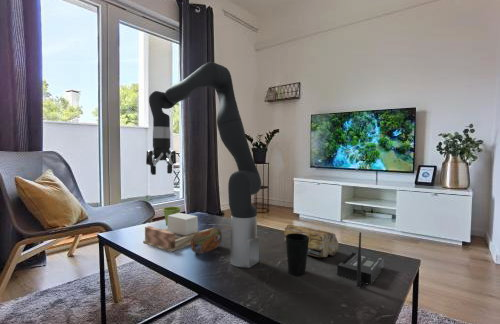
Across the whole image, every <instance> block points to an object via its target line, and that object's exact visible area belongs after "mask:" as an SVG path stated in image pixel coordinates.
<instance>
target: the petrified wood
mask: <svg viewBox="0 0 500 324" xmlns="http://www.w3.org/2000/svg"><path fill="white" fill-rule="evenodd" d="M292 233H298V234H304V235H307V236H308V237H309V243H308V252H307V256H312V257H316V258H327V257H328V255H329V256H335V254H336V253H337V252H338V249H339V247H340V245H339V241H338V239H337V236H336V234H335V233H334V232H331V231H325V230H320V229H315V228H311V227H306V226H301V225H294V224H287V225H286V227H284V231H283V236H284V238H283V241H284V244H285V245H286V235H288V234H292Z"/></svg>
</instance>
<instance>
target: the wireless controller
mask: <svg viewBox="0 0 500 324" xmlns="http://www.w3.org/2000/svg"><path fill="white" fill-rule="evenodd" d="M384 264H385V258H383V257H380V256H374V255H371V254H367V253H362V232H361V231H359V233H358V249H357V251H355V250H354V251H352V253H351V254H350V255H348V256H347V257H346V258H345V259H344V260H343V261H341V262H339V263H338V264H337V268H336V269H337V271H336V272H337V276H338V275H339V277H341V276H343V277H342V278H344V277H346V278H345V279H348V278H350V279H349V280H351V279H353V280H352V281H354V280H356V281H355V282H356V288H357V287H360V288H361V287H362V285H363V284H364V283H368V284H367V285H369V284H371V283H372V282H373V280H374V279H375V278H376V276H377V275H378V274H379V275H380V273H381V272H382V271H381V269H382V268H383V267H384V266H385V265H384ZM383 269H384V268H383ZM383 269H382V270H383ZM380 271H381V272H380ZM379 272H380V273H379ZM379 275H378V276H379ZM378 276H377V277H378ZM376 279H377V278H376ZM376 279H375V280H376ZM375 280H374V281H375ZM363 282H364V283H363ZM373 283H374V282H373ZM373 283H372V284H373ZM372 284H371V285H372Z"/></svg>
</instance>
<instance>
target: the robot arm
mask: <svg viewBox="0 0 500 324" xmlns="http://www.w3.org/2000/svg"><path fill="white" fill-rule="evenodd" d="M230 72H231V71H230V70H229V69H228V68H227V67H226V66H224V65H222V64H219V63H217V62H213V61H208V62H206V63H204V64H203V65H201V66H200V67H198V68H197V69H196V70H195V71H194V72H192V73H191V74H190V75H188V76H187V77H185V78H184V79H182V80H180V81H179V82H177V83H175V84H172V85H170V86H169V87H168V88H166V89H165V92H163V91H159V90H153V91H152V92H151V93H150V95H149V96H148V104H149V107H150V110H151V111H150V112H151V115H152V121H153V122H152V123H153V125H152V148H153V149H152V150H146V155H145V158H146V159H145V163H146V165H148V166H150V167H149V168H150V174H151V175H153V176H154V175H156V174H157V163H159V162H160V161H164V162H166V164H167V167H166V169H167V170H166V172H167V174H172V173H173V165H175V164H177V153H176V150H170V148H171V125H170V124H171V122H170V121H171V119H170V115H168V114H167V113H166V112H164V111H163V109H164V110H169V109H172V108H173V107H175V106H176V105H177V104H178V103H179V102H182V101H184V100H186V99H188V98H189V97H190V96H191V95H192V94H193V93H194V91H195V90H198V89H200V88H205V87H207V88H209V89H213V90H215V92H216V95H217V99H218V102H219V103H218V104H219V108H218V111H217V112H218V113H217V117H216V126H217V130H218V134H219V136H220V139H221V142H222V144H223V145H224V146H225V148H226V149H227V150H228V152H229V153H230V155H231V156H232V157H233V159H234V161H235V163H236V166H237V170H238V171H234V172H233V173H231V174H230V176H229V179H228V182H227V183H228V184H227V187H228V188H227V192H228V207H229V209H230V264H231V265H232V266H234V267H238V268H247V269H249V268H252V267H253V266H255V265H257V264H258V263H259V258H260V257H259V255H260V253H259V252H260V251H259V250H260V247H259V246H260V244H259V243H260V240H259V239H260V237H259V236H258V235H257V231H258V230H257V224H258V222H257V221H258V219H257V218H258V210H257V207H256V206H254V205H252V201H251V196H254V195H256V194H257V193H259V192H260V191H261V187H262V179H261V175H260V172H259V170H258V168H257V166H256V163H255V161H254V158H253V155H252V152H251V149H250V145H249V142H248V139H247V135H246V130H245V129H244V124H243V121H242V120H243V119H242V118H241V114H240V111H239V108H238V102H237V100H236V97H235V91H234V85H233V79H232V75H231V73H230Z"/></svg>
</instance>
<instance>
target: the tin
mask: <svg viewBox="0 0 500 324" xmlns="http://www.w3.org/2000/svg"><path fill="white" fill-rule="evenodd" d="M222 237H223V235H222V232H221V230H220V229H219V228H217V227H210V228H207V229H203V231H202V230H200V232H197V233H196V234H195V235H194V236H193V237H192V239H191V245H190V248H191V251H192V252H194V253H195V254H198V255H203V254H206V253H208V252H211V251H213V250H215V249H217V248H218V247H219V246H220V244H221V242H222Z"/></svg>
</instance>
